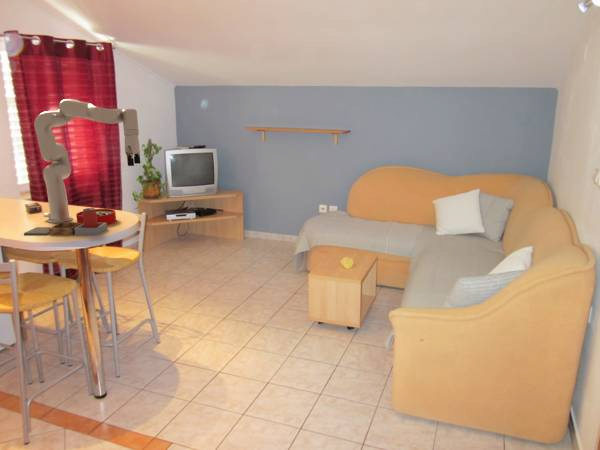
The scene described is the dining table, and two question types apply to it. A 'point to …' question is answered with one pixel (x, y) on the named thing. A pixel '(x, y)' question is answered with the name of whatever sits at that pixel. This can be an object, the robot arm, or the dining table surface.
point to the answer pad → (38, 231)
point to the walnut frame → (64, 229)
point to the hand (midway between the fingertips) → (134, 164)
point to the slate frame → (90, 229)
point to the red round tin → (100, 216)
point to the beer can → (90, 218)
